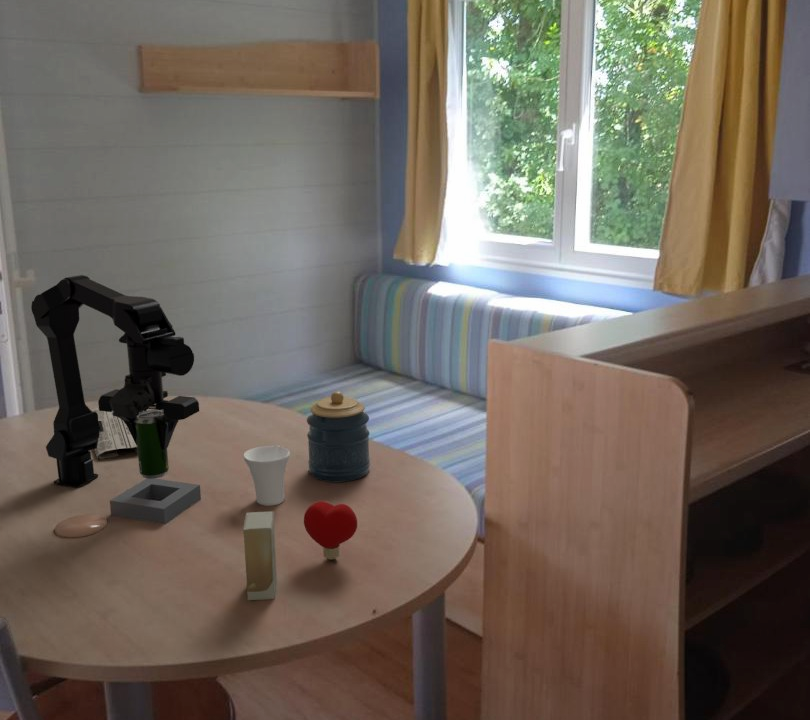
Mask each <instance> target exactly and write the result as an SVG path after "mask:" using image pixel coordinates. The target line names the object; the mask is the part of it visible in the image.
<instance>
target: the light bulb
mask: <svg viewBox="0 0 810 720" xmlns="http://www.w3.org/2000/svg"><path fill="white" fill-rule="evenodd" d="M303 525H304V528H305V531H306V532H307V534H308V535H309V537H310V538H311V539H312V540H314V542H316V543H317V544H318V545H319V546H321V548H323V557H324V558H325V559H327V560H329V561H335V560H336V559H337V558H339V557H340V556H341V555H340V544H344V543H345V542H347V541H349V540H350V539H351V538H352V537H353V536H354V535H355V533H356V532H357V528H358V518H357V515H356V513H355V512H354V510H353V509H352V508H351V507H350V506H349V505H347V504H344V503H339V504H335V505H334V504H332V503H330V502H327V501H325V500H320V501H315V502H313V503H312V504H311V505H309V506H308V507H307V509H306V511H305V512H304V515H303Z"/></svg>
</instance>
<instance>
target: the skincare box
mask: <svg viewBox="0 0 810 720" xmlns="http://www.w3.org/2000/svg"><path fill="white" fill-rule="evenodd" d="M275 533H276V532H275V515H274V511H273V510H272V511H256V512H255V511H251V512H246V514H245V517H244V523H243V540H244V541H243V543H244V560H245V561H244V562H245V574H246V592H247V595H246V596H247V601H261V600H263V601H265V600H274V599H276V595H277V587H278V586H277V585H278V578H277V576H278V575H277V558H276V557H277V556H276V555H277V554H276V536H275V535H276V534H275Z"/></svg>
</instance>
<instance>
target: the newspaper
mask: <svg viewBox="0 0 810 720" xmlns="http://www.w3.org/2000/svg"><path fill="white" fill-rule="evenodd" d="M90 410H91V411H92V412H96V413H97V414H98V423H99V426H100V429H101V430H100V432H99V433H100V435H99V439H98V445H97V448H96V449H93V451H94V453H95V455H96V458H97V460H99V459H100V460H103V459H106V458H113V457H114V458H115V457H118V456H119V453H118V451H117V450H119V449H121V450H122V449H133V450H134V451H135V453H136V454H138V450H137V445H136V443H135V441H134V439H133V437H132V435H131V433H130V431H129V429H128V427H127V426H126V424H125V422H124V421H123V420H122V419H120V418H119V417H116V416H114V415H113V411H112V412H106V411H99V407H97V408H92V409H90Z"/></svg>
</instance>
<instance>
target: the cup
mask: <svg viewBox="0 0 810 720" xmlns="http://www.w3.org/2000/svg"><path fill="white" fill-rule="evenodd" d="M290 456H291V451H290V450H289V449H287V448H286V447H282V446H280V445H279V444H276V445H266V446H265V445H263V446H257V447H253V448H250V449H248V450H246V451H245V452H244V454H243V455H242V457H243V459H244V463H245V464H246V465H247V467H248V469H249V472H250V475H251V477H252V481H253V485H254V486H253V487H254V489H255V499H256V500H255V502H257V503H258V504H259V505H261V506H266V507H267V506H269V507H270V506H277V505H279V504H281V503H283V502H284V501H285V498H286V497H285V489H284V488H285V483H284V482H285V481H284V479H285V473H286V467H287V463H288V461H289V458H290Z"/></svg>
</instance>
